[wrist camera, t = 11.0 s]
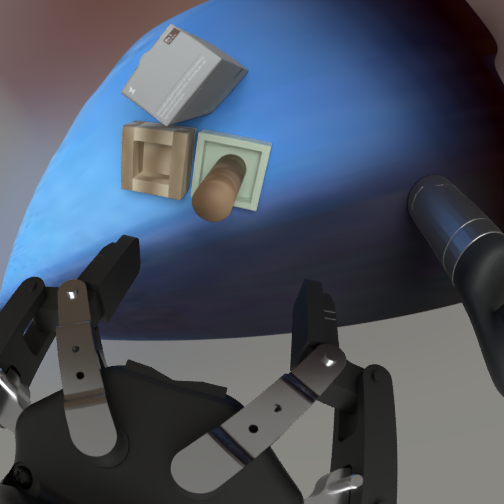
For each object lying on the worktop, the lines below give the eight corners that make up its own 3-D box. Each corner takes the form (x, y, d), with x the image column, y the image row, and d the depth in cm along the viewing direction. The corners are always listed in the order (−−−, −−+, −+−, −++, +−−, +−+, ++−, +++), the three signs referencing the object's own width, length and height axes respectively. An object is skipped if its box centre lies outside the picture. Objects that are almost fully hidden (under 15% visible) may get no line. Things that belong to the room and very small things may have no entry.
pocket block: (196, 128, 38) (187, 133, 35) (189, 189, 44) (180, 200, 40) (135, 120, 38) (122, 125, 34) (133, 178, 43) (121, 188, 40)
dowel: (249, 157, 39) (235, 189, 29) (243, 185, 42) (228, 225, 32) (218, 151, 39) (194, 180, 29) (213, 179, 41) (189, 216, 32)
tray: (272, 142, 38) (271, 146, 36) (257, 204, 44) (256, 211, 42) (203, 129, 38) (198, 132, 36) (195, 190, 44) (190, 196, 42)
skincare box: (212, 113, 36) (169, 137, 23) (175, 85, 34) (114, 96, 21) (252, 69, 32) (229, 63, 19) (212, 39, 30) (166, 21, 17)
